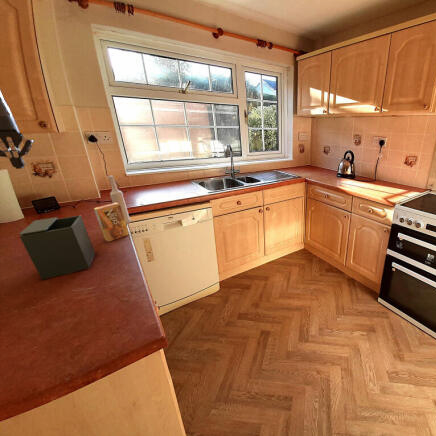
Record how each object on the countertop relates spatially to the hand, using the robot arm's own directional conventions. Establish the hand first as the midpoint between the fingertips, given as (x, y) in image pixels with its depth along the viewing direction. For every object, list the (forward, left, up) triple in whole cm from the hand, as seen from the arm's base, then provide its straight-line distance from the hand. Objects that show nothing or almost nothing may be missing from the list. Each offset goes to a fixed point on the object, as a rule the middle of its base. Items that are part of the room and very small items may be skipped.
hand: (20, 168), depth 86 cm
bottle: (+22, +23, -35) cm, 47 cm away
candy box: (+20, +5, -35) cm, 40 cm away
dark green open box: (+7, -14, -35) cm, 38 cm away
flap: (+4, -14, -18) cm, 23 cm away
